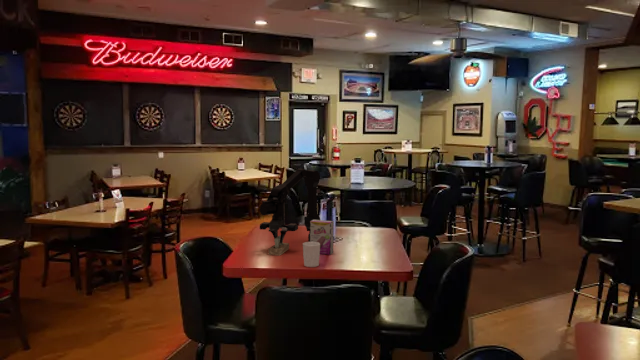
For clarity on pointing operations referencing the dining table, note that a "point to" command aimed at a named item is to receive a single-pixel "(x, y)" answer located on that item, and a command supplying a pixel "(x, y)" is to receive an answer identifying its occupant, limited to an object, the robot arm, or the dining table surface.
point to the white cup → (311, 254)
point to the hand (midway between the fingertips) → (278, 243)
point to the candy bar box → (322, 235)
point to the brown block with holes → (278, 249)
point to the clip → (277, 242)
